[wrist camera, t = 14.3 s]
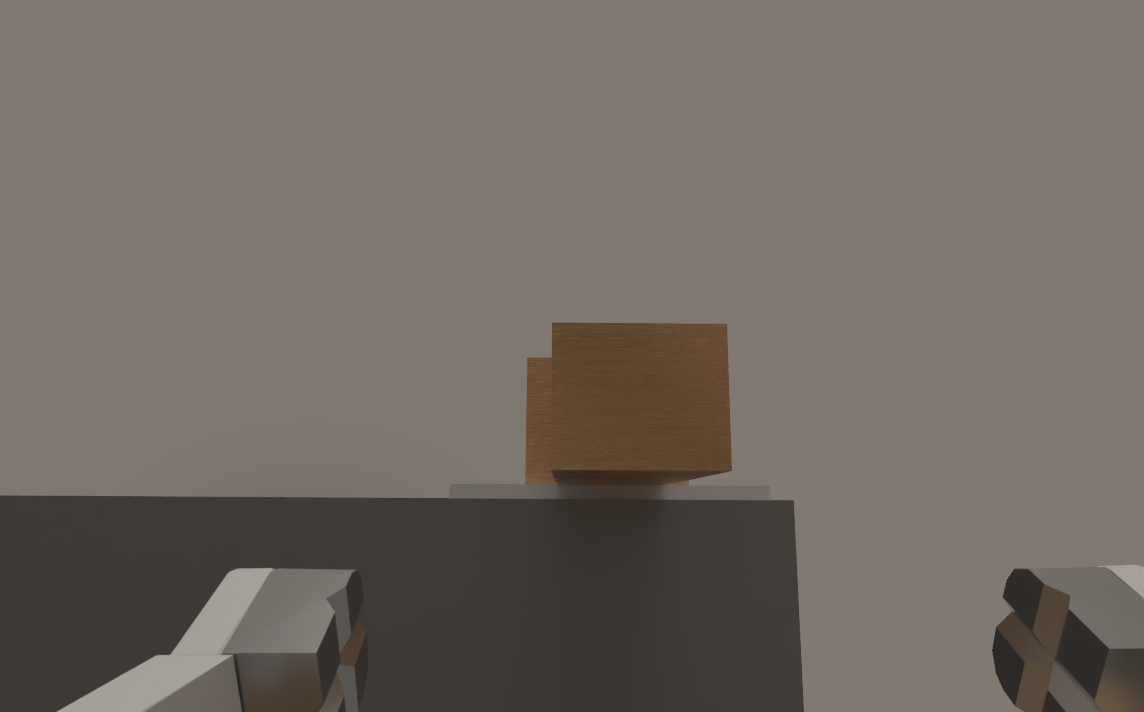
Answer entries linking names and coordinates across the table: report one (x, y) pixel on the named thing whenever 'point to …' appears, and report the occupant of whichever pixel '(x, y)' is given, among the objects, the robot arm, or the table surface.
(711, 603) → the plain gray box
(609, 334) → the brown flat block
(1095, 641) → the robot arm
